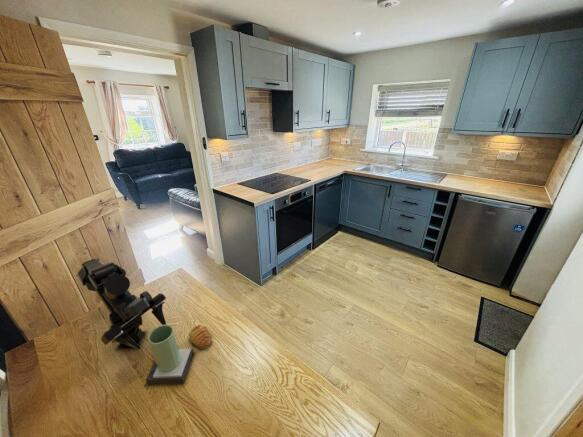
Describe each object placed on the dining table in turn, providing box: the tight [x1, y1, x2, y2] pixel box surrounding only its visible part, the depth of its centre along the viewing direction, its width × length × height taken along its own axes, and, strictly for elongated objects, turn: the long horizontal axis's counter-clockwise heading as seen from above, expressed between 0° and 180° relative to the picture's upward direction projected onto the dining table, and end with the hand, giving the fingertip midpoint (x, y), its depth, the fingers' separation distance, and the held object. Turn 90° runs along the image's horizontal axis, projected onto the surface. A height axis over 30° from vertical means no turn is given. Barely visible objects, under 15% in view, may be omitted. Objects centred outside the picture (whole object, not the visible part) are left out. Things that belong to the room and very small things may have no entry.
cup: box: [147, 324, 181, 372], centre depth 74 cm, size 7×7×13 cm
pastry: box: [188, 324, 212, 350], centre depth 87 cm, size 9×7×4 cm
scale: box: [145, 348, 195, 386], centre depth 78 cm, size 11×10×3 cm
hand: (153, 337), depth 76 cm, fingers open, 9 cm apart
